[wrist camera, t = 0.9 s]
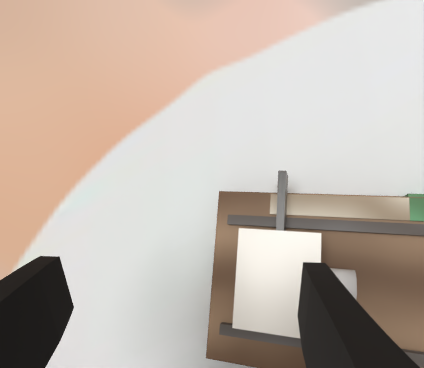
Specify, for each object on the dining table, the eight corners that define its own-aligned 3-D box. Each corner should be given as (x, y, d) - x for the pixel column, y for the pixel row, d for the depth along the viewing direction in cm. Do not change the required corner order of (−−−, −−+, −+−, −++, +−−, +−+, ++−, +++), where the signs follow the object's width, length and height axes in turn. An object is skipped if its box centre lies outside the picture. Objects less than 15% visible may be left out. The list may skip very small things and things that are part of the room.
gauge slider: (351, 334, 21) (358, 347, 18) (242, 318, 23) (232, 328, 20) (351, 180, 23) (357, 168, 20) (251, 178, 25) (242, 167, 22)
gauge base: (641, 429, 18) (685, 452, 16) (212, 352, 25) (202, 360, 23) (606, 203, 20) (640, 197, 18) (224, 192, 27) (217, 187, 25)
